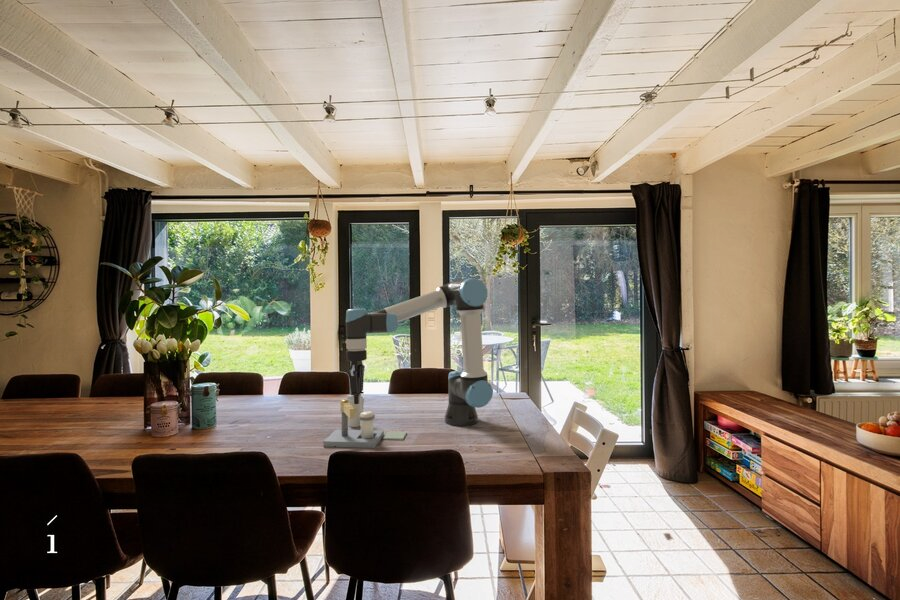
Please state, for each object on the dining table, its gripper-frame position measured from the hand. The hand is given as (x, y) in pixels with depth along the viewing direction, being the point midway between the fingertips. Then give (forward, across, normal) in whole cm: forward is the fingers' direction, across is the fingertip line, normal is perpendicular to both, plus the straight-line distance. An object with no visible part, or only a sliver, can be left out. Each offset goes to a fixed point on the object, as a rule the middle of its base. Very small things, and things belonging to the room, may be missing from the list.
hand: (357, 411), depth 154 cm
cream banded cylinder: (+13, -6, +2) cm, 15 cm away
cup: (+14, -27, -9) cm, 31 cm away
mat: (+14, -12, +12) cm, 22 cm away
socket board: (+13, -6, -3) cm, 15 cm away
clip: (+1, -2, -4) cm, 5 cm away
